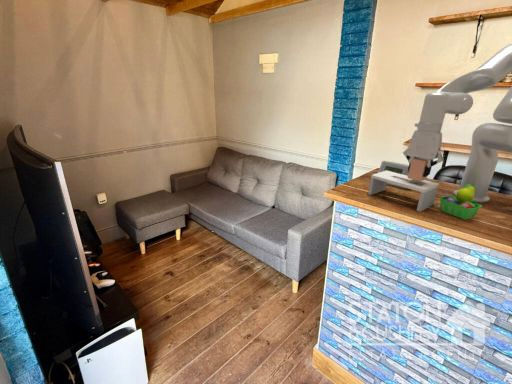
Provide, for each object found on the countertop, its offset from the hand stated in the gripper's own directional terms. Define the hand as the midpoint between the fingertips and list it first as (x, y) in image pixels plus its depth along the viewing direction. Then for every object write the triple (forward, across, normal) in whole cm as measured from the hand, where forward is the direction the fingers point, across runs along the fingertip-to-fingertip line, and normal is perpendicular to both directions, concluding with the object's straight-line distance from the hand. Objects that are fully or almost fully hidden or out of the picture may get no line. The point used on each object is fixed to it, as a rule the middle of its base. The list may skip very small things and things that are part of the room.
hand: (418, 173), depth 108 cm
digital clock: (+13, -16, +16) cm, 26 cm away
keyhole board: (+13, -5, 0) cm, 14 cm away
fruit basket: (+13, +15, +5) cm, 20 cm away
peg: (+5, 0, 0) cm, 5 cm away
